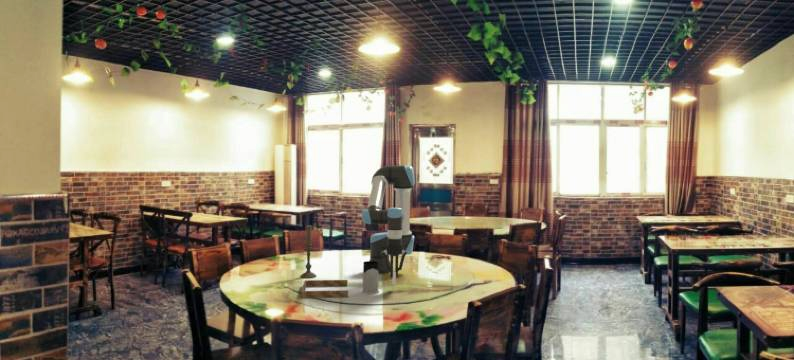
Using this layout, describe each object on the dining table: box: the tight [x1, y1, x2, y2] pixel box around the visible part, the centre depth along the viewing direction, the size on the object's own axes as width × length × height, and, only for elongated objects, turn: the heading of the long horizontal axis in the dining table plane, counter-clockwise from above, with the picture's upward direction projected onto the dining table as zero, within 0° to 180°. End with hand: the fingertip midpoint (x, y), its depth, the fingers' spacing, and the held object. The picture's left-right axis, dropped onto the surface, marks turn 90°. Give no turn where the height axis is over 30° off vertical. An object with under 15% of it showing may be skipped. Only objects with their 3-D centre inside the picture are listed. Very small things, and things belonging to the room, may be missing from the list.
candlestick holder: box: [299, 225, 317, 279], centre depth 279 cm, size 9×9×30 cm
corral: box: [300, 279, 349, 299], centre depth 246 cm, size 22×24×3 cm
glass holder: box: [361, 260, 380, 295], centre depth 248 cm, size 9×14×15 cm, turn 15°
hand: (393, 283), depth 250 cm, fingers closed
